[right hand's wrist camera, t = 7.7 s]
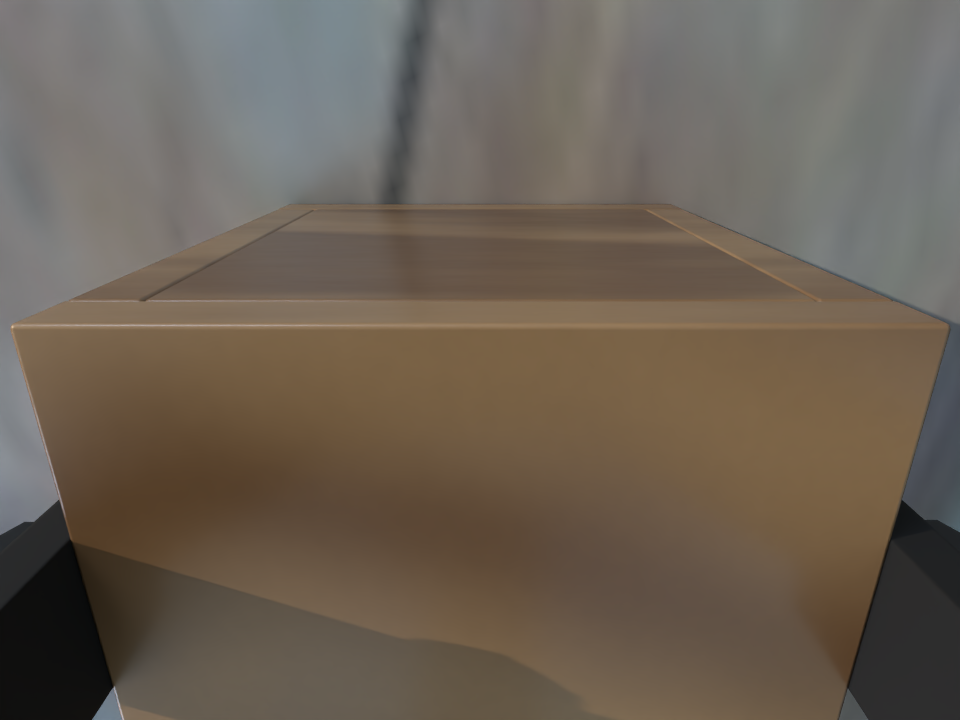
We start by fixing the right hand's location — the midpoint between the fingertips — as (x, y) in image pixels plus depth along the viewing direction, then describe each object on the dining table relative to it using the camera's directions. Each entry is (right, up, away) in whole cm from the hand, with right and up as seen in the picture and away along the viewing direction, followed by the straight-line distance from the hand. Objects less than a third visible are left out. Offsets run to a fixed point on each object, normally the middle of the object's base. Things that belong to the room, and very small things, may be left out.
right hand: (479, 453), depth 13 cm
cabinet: (0, -3, +8) cm, 9 cm away
